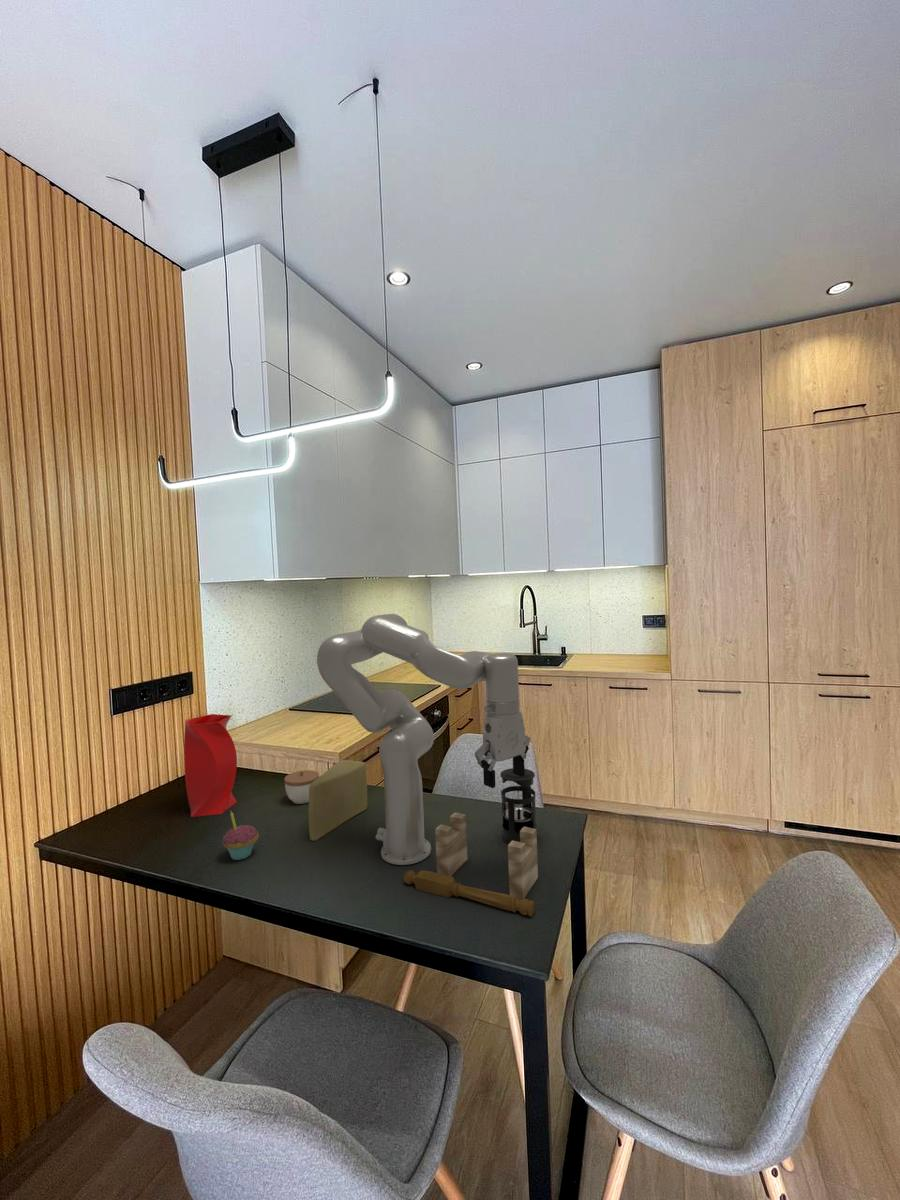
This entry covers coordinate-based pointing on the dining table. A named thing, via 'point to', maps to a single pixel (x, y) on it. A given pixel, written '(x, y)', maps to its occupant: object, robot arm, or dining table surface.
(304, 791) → the lidded jar
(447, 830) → the block
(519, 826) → the french press
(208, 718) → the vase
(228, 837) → the cupcake
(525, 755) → the robot arm
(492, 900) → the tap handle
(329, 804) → the cheese
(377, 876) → the dining table surface
